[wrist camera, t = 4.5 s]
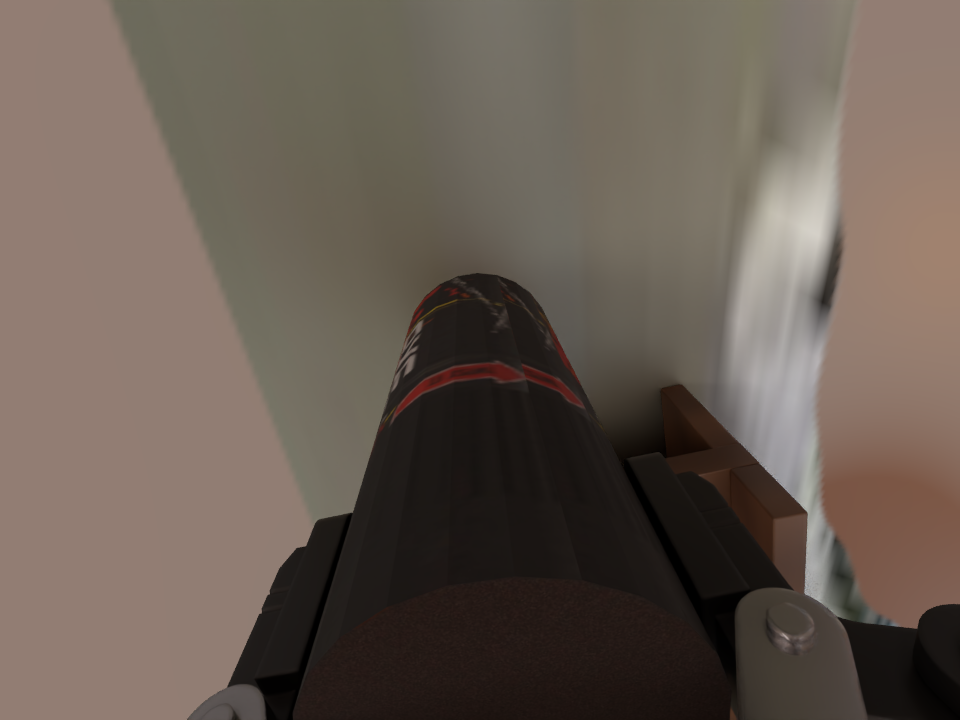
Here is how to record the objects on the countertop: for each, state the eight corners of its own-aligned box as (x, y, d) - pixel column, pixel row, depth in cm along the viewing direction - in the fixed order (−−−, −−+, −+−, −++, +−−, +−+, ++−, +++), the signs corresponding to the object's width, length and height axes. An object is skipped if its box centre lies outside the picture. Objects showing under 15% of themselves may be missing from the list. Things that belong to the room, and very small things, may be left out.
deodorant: (422, 258, 19) (318, 538, 5) (568, 291, 20) (813, 616, 6) (396, 391, 21) (274, 836, 7) (528, 417, 22) (639, 867, 8)
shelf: (430, 436, 27) (412, 589, 18) (682, 383, 27) (808, 512, 17) (502, 675, 35) (517, 875, 25) (700, 639, 34) (795, 830, 24)
